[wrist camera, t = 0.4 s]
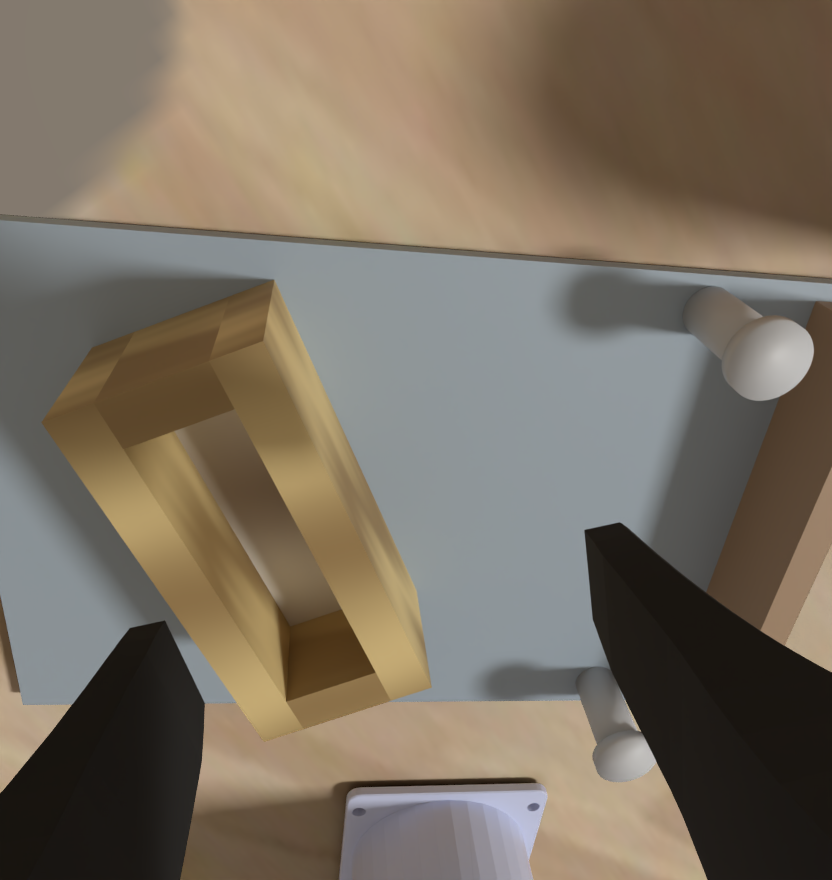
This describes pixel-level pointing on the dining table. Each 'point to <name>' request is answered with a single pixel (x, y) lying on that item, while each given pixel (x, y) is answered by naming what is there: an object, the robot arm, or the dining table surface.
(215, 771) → the dining table surface
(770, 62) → the dining table surface
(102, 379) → the frame
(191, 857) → the dining table surface
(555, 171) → the dining table surface
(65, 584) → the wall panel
